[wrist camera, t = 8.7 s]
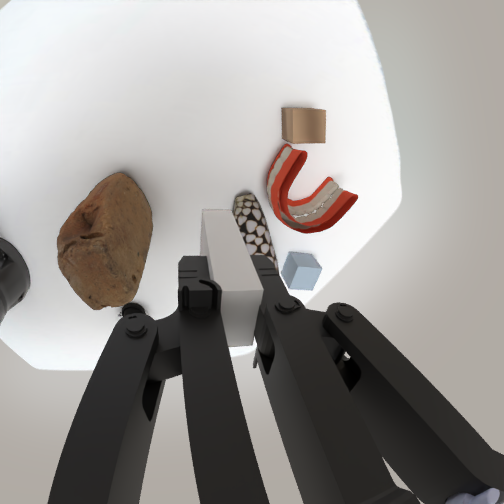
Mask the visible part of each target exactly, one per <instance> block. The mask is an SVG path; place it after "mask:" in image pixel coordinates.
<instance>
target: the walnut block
mask: <svg viewBox="0 0 504 504" xmlns="http://www.w3.org/2000/svg"><path fill="white" fill-rule="evenodd" d="M281 109H282V139H284V140H286V141H288V142H290V143H293V144H301V143H325V133H326V110H321V109H314V108H281Z"/></svg>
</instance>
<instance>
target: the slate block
mask: <svg viewBox="0 0 504 504" xmlns="http://www.w3.org/2000/svg"><path fill="white" fill-rule="evenodd" d="M321 271H322V267H321V266H320V265H319V263H318V262H317V261H316V259H315V258H314V256H313V255H312V254H305V253H297V252H289V253H288V256H287V259H286V262H285V264H284V267H283V270H282V272H281V274H282V276H283V278H284V280H285V282H286V284H287V286H288V288H289V289H296V290H313V288H314V286H315V284H316V282H317V280H318V277H319V275H320V273H321Z"/></svg>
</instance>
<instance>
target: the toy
mask: <svg viewBox="0 0 504 504" xmlns="http://www.w3.org/2000/svg"><path fill="white" fill-rule="evenodd" d="M306 159H307V152H306V151H301V150H296V149H293V148H292V147H291V146H290V145H289V144H285V145H284V146H283V148H282V149H281V151H280V153H279V154H278V155H277V157H276V159H275V161H274V163H273V164H272V166H271V168H270V170H269V173H268V178H267V194H268V195H269V197H268V199H269V203H270V206H271V208H272V209H273V211H274V214H275V216H276V217H277V218H278V219H279V220H280V221H281V222H282V223H283V224H284V225H286V226H287V227H289V228H291V229H293V230H296V231H299V232H301V233H306V234H307V233H314V232H321V231H323V230H326V229H328V228H330V227H332V226H333V225H334V224H335V223H337V222H338V221H339V220H340V219H341V218H342V217H343V216H344V214H345V213H346V212H347V211H348V210H349V209H350V208H351V207H352V205H353V204H354V203H355V202H356V201H357V199H358V195H356V194H353V193H350V192H348V191H344V190H343V189H341V188H339V186H338V184H336V183H335V182H333V179H332V178H331V177H327V178H326V180H325V181H324V182H323V183H322V184H321V185H320V186H319V188H318V189H317V190H316V191H315V192H314V193H313V194H312V195H311V196H310V197H307V198H304V199H301V200H297V201H292V200H290V199H288V191H289V189H290V187H291V185H292V183H293V181H294V179H295V178H296V176H297V174H298V173H299V171H300V170H301V168H302V166H303V165H304V163H305V161H306ZM332 194H333V195H332ZM331 195H332V198H330V197H331ZM322 203H324V204H323V207H321V206H322ZM317 209H318V210H317ZM314 210H317V211H316V213H312V212H314ZM310 213H311V214H310ZM304 214H309V215H307V217H306V216H301V217H297V218H295V217H293V216H291V215H296V216H300V215H304Z"/></svg>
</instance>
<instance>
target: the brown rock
mask: <svg viewBox="0 0 504 504" xmlns="http://www.w3.org/2000/svg"><path fill="white" fill-rule="evenodd" d="M152 231H153V224H152V212H151V209H150V206H149V204H148V201H147V200H146V197H145V195H144V194H143V192H142V191H141V189H140V188H138V186H137V184H136V183H135V182H134V181H133V180H132V179H131V178H130V177H127V176H126V175H125V174H122V173H115V174H112V175H110V176H109V177H107V178H105V179H104V180H102V181H101V182H100V183H98V184H97V185H96V186H95V188H94V189H93V190H92V191H91V192H90V193H89V195H88V196H87V197H86V199H85V200H83V201H82V202H81V203H80V204H79V205H78V206H77V207H76V209H75V211H74V212H72V213H71V214H70V216H69V217H68V219H67V220H66V222H65V223H64V224H63V226H62V227H61V229H60V233H59V236H58V237H57V248H58V256H57V258H58V265H59V269H60V270H61V272H62V274H63V275H64V277H65V278H66V279H67V280H68V282H69V284H70V286H71V287H72V288H73V290H74V291H75V293H76V294H77V295H78V296H79V297H80V298H81V299H82V300H83V301H84V302H85V303H86V304H87V305H88V306H90V307H91V308H92V309H93V310H100V309H102V308H104V307H107V306H111V307H119V306H123V305H125V304H127V303H129V302H131V301H132V300H133V298H134V296H135V295H136V293H137V290H138V288H139V283H140V280H141V278H142V273H143V270H144V266H145V262H146V258H147V254H148V250H149V246H150V241H151V236H152Z"/></svg>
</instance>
